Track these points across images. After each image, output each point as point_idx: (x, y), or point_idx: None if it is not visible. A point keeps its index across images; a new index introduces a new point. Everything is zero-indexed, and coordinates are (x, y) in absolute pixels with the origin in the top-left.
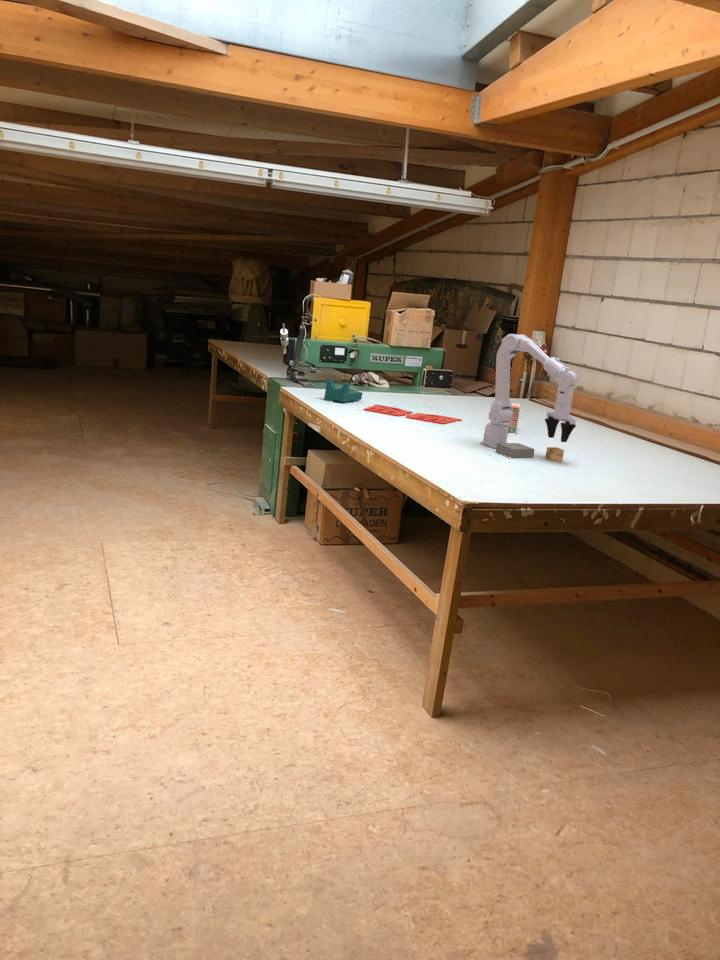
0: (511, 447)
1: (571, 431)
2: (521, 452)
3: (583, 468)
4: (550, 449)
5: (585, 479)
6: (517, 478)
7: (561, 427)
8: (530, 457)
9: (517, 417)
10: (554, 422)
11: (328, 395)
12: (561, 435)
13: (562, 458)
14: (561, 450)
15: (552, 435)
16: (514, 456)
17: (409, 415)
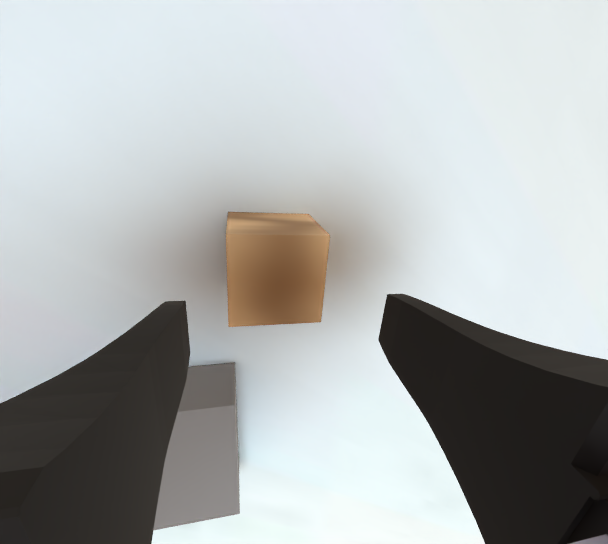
0: (201, 509)
1: (526, 345)
2: (237, 454)
3: (468, 195)
4: (274, 320)
5: (576, 335)
6: (473, 522)
7: (471, 502)
8: (235, 382)
9: None
10: (119, 514)
11: None
12: (413, 393)
13: (312, 220)
14: (325, 259)
15: (183, 333)
16: (238, 461)
17: None
